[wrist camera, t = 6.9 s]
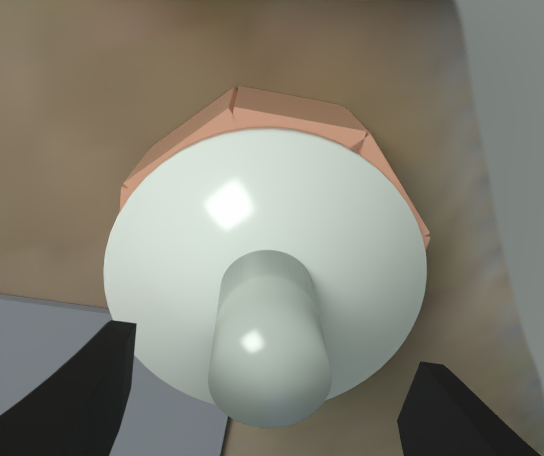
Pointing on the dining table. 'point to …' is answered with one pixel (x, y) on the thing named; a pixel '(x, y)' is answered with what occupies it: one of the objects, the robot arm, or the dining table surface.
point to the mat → (144, 389)
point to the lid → (266, 271)
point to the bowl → (269, 112)
